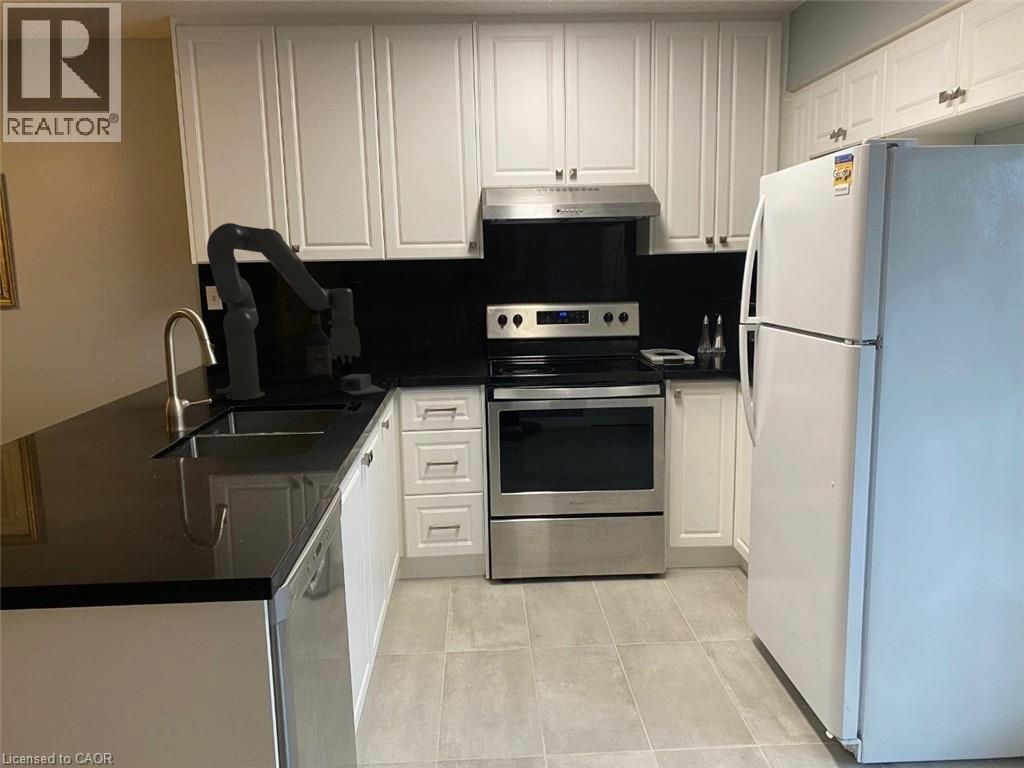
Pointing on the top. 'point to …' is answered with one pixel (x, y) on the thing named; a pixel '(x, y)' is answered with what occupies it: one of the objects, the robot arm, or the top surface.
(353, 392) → the mat
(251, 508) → the top surface
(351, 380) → the medicine box
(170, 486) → the top surface
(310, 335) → the liquor
